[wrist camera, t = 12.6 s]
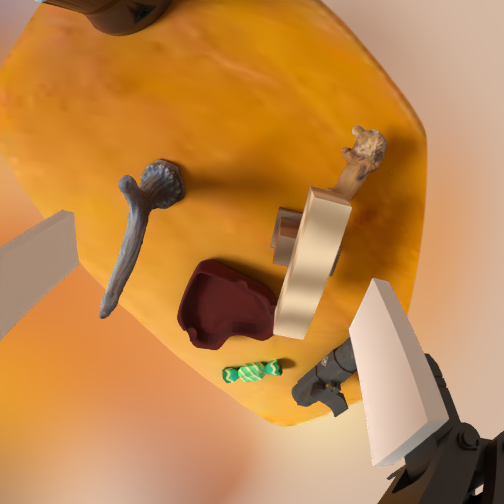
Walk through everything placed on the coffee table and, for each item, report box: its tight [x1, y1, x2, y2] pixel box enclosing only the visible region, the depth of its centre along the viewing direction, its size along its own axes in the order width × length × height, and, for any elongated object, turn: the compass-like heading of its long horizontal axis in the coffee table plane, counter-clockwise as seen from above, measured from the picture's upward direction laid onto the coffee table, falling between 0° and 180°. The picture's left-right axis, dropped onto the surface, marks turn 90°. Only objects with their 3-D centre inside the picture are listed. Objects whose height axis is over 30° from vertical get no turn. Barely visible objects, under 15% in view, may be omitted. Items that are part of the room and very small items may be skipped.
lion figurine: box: [326, 126, 387, 202], centre depth 34 cm, size 15×5×9 cm, turn 160°
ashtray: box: [177, 260, 278, 350], centre depth 47 cm, size 18×16×5 cm
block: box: [273, 186, 352, 340], centre depth 33 cm, size 18×4×5 cm, turn 169°
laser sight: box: [292, 337, 357, 417], centre depth 49 cm, size 10×22×10 cm, turn 150°
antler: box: [99, 159, 185, 319], centre depth 31 cm, size 12×8×25 cm
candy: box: [222, 359, 282, 383], centre depth 55 cm, size 12×3×4 cm
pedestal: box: [270, 208, 342, 276], centre depth 39 cm, size 6×9×8 cm, turn 80°
